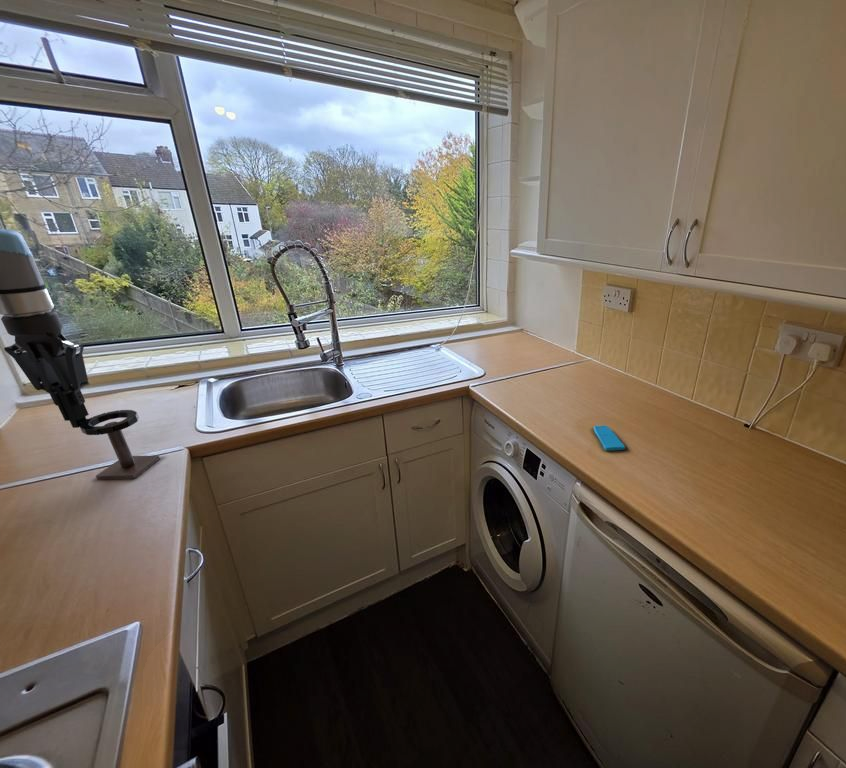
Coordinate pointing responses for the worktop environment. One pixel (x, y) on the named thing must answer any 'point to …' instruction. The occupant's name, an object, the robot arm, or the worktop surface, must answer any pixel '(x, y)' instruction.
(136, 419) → the ring
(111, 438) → the peg stand
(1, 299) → the robot arm
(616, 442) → the sponge
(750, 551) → the worktop surface
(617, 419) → the worktop surface
